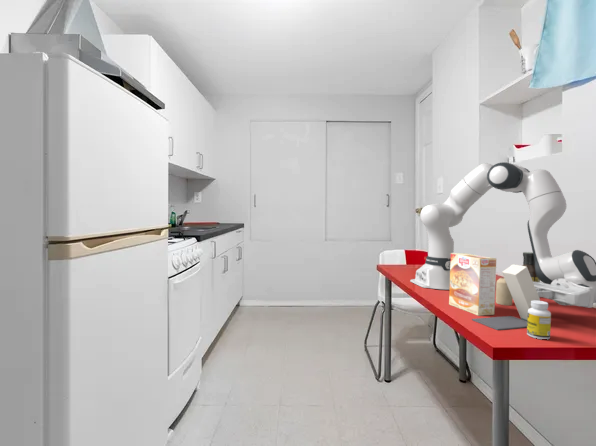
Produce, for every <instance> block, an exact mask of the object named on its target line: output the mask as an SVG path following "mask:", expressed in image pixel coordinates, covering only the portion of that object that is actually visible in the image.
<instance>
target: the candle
mask: <svg viewBox="0 0 596 446" xmlns="http://www.w3.org/2000/svg"><path fill="white" fill-rule="evenodd" d="M495 304H497V305H501V306H513V298H512V296H511V293H510V291H509V288H508V286H507V283H506V281H505V279H504V277H500V278H498V279H496V283H495Z"/></svg>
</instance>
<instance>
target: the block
mask: <svg viewBox="0 0 596 446" xmlns="http://www.w3.org/2000/svg"><path fill="white" fill-rule="evenodd" d="M501 274H502V276H503V278H504V279H505V281H506V283H507V286H508V288H509V291H510V293H511V296H512V301H513V302H514V305H515V308H516V310H517V312H518V314H519V317H520V319H522V320H525V321H527V319H528V309H530V308H532V306H531V301H533V300H537V301H541V297H540V298H539V296H538V293H537V291H536V288H535V286H534V283H533V281H532V278H531V276H530V273H529V271H528V268H527V267H526V266H522V265H521V264H513V263H512V264H511V265H510V266H508V267H507V268H506V269H504V270H502V271H501Z"/></svg>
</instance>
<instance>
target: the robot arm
mask: <svg viewBox="0 0 596 446" xmlns="http://www.w3.org/2000/svg"><path fill="white" fill-rule="evenodd" d="M492 188H495V189H496V190H500V191H502V192H506V193H507V192H508V193H509V192H510V193H516V194H520V193H523V195H524V197H525V199H526V202H527V205H528V208H529V218H528V220H527V223H526V225H527V232H528V235H529V236H528V237H529V241H530V246H531V250H532V252H533V255H534V260H535V273H536V276H537V277H538V279H539V280H540V282H533V283H534V286H535V288H536V291H537V293H538V296H539V297H540V298H544V299H548V300H551V301H553V302H555V303H556V304H558V305H561V306H570V307H571V306H576V307H581V308H588V309H589V308H593V307H594V304H596V260H595V259H594V257H592V256H591V255H590V254H589V253H587V252H585V251H583V250H580V249H575V250H572V251H567V252H564V253H562V254H559V255H558V254H557V255H555V256H552V254H551V253H552V252H551V248H550V244H549V240H548V233H549V231H550V229H551V228H552V226H553V225H554V224H555V223H557V221H560V219H561V218H562V217H563V216H564V214H565V212H566V210H567V201H566V198H565V195H564V193H563V192H562V189H561V187H560V185H559V184H558V182H557V181H556V179H555V178H554V176H553V175H552V174H551V172H550V171H548V170H546V169H541V168H540V169H534V170H532V171H530V170H529V169H527V168H525V167H523V166H521V165H519V164H514V163H511V162H503V161H502V162H498V163H495V164H494V165H493V164H491V163H488V162H483V163H481V164H479V165H477V166H476V167H475V168H473V169H471V170H470V171H469V172H467V174H465V176H464V177H463V178H462V179H461V180H459V182H458V183H457V184H456V185H455V186H453V188H451V189H450V193H449V196H448V198H446V200H445V201H444V202H442V203H431V204H428V205H426V206H423V208H422V209H421V211H420V215H419V218H420V220H421V222H422V224H423V225H424V228H425V231H426V234H427V241H428V243H427V245H428V247H427V249H428V250H427V256H424V259H425V261H424V262H425V263H424V264H423V265H422V266H420V267H419V268H418V269H416V271H415V278H411V279H410V281H409V282H410V283H413V284H414V285H417V286H419V287H421V288H424V289H426V288H428V289H432V290H433V289H436V290H449V291H450V262H451V253H455V252H454V251H455V250H454V249H455V240H454V239H453V238H452V234H451V232H450V228H453V227H455V226H458V225H459V224H460V223H462V221H463V218H464V216H465V214H466V213H467V212H468V210H469V209H470V208H471V207H472V206H473V205H474V204H475V203H476V202H477V201H478V200H479V199H481V198H482V197H483V196H484V195H485V194H486V193H487V192H488V191H490V190H491V189H492Z"/></svg>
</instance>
